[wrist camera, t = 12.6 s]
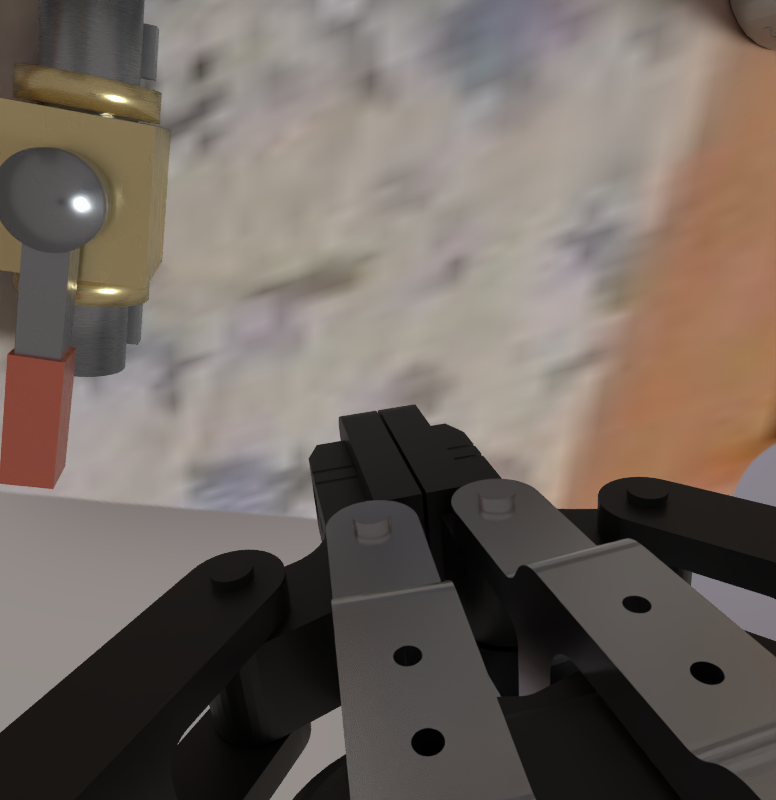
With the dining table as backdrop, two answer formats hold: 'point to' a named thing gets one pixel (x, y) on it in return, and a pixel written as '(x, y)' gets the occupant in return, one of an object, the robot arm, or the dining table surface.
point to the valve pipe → (98, 159)
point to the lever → (45, 302)
